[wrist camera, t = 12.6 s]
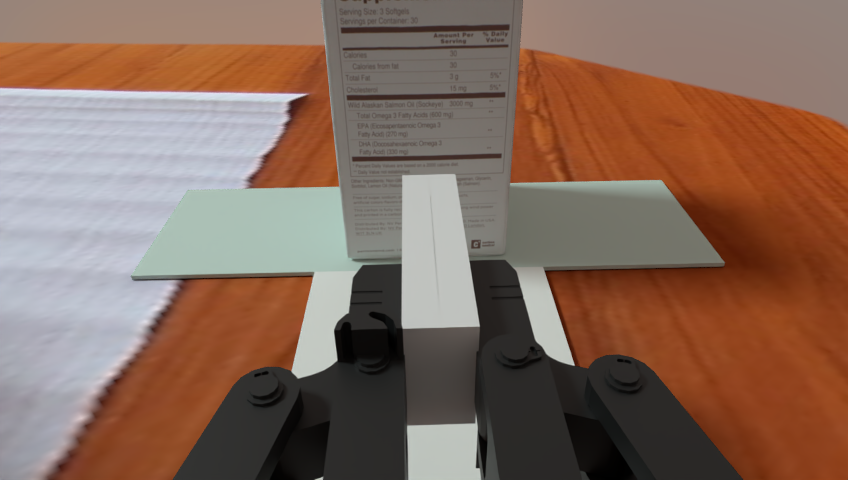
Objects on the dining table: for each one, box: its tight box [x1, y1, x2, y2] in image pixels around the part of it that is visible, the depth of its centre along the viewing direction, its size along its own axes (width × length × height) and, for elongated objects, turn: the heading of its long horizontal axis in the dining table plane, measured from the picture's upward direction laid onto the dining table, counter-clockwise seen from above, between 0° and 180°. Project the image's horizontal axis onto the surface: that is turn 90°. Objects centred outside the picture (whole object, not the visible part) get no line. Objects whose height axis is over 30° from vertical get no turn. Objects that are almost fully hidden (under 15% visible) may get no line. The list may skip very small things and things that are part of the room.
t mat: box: [131, 180, 725, 480], centre depth 21 cm, size 28×26×1 cm
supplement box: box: [321, 0, 523, 259], centre depth 27 cm, size 7×7×13 cm
